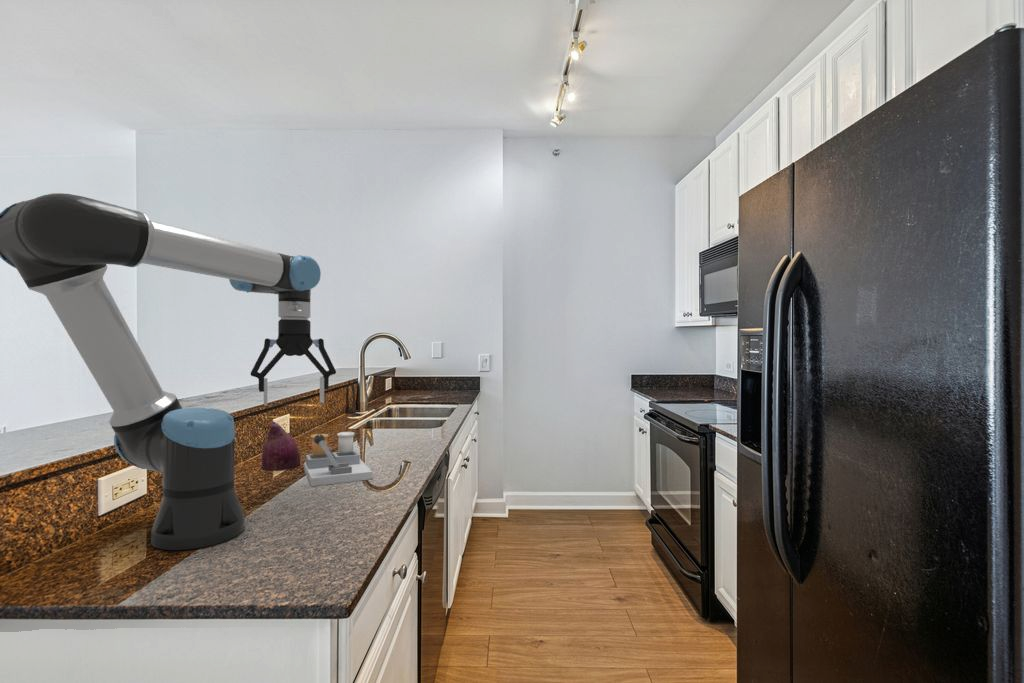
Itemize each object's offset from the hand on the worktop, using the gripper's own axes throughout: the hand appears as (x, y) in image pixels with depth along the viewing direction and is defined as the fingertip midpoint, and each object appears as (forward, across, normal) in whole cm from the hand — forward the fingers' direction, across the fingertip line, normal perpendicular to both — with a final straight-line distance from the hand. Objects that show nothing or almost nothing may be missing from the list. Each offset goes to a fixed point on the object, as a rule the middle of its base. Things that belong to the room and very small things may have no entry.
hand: (294, 403), depth 131 cm
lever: (+19, +11, 0) cm, 22 cm away
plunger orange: (+15, +7, +9) cm, 19 cm away
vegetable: (+21, -2, +21) cm, 30 cm away
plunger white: (+15, +14, +9) cm, 23 cm away
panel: (+21, +11, +5) cm, 24 cm away
